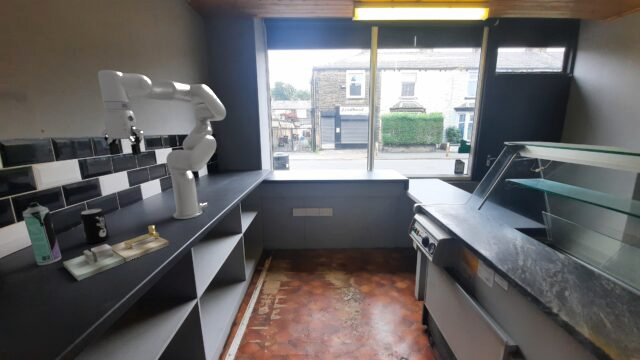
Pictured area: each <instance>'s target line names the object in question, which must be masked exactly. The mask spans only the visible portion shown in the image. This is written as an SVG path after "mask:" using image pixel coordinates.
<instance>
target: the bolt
mask: <svg viewBox="0 0 640 360" xmlns="http://www.w3.org/2000/svg"><path fill="white" fill-rule="evenodd" d="M155 227H156V225H154V224H152V225H148V226H147V229H148V233H147V235H146V234H143V235H144V236H143V235H140V236H141V237H140V236H137V237H138V238H137V237H134V238H135V239H134V238H131V239H132V240H131V239H128V240H129V241H128V240H125V241H126V242H125V241H123V242H124V244H125V247H126V248H131V247H132V246H131V244H134V243H137V242H139V241H142V240H145V239H148V238H151V237H154V238H155V239H156V238H159V237H160V234H159V232H157V231H156V228H155Z"/></svg>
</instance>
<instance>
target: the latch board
mask: <svg viewBox="0 0 640 360" xmlns="http://www.w3.org/2000/svg"><path fill="white" fill-rule="evenodd" d="M147 234H148V233H147ZM147 234H143V235H139V236H137V237H134V238H131V239H128V240H125V241H123V242H122V241H121V242H119V243H116V244H113V245H109V244H107V243H105V244H102V245H98V246H95V247H92V248H90V250H91V251H89V250H88V249H86V250H83V255H80V256H76V257H74V258H72V259H71V258H70V259H69V260H68V259H67V260H66V261H63V262H62V264H63V267H64V268H65V269H66V270H67V271H68V272H69V273H70V274H71V275H72V276H73V277H74V278H75V279H76V280H77V281H78V282H79V281H81V280H85V279H86V278H89V277H92V276H94V275H97V274H99V273H101V272H105V271H107V270H109V269H112V268H114V267H117V266H120V265H122V264H125V263H127V262H129V261H132V259H133V260H135V259H137V257H138V258H140V257H143V256H145V255H148V254H150V253H152V252H155V251H157V250H158V251H159V250H160V249H162V248H165V247H166V248H167V247H168V246H170V242H169V240H166V239H165V238H162V237H160V236H159V238H156V239H155V238H154V237H151V238H148V239H145V240H142V241H139V242H137V243H134V244H131V246H132V247H131V248H126V247H125V244H124V242H126V241H129V240H132V239H135V238H138V237H141V236H144V235H147ZM134 258H135V259H134Z"/></svg>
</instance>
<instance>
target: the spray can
mask: <svg viewBox="0 0 640 360" xmlns="http://www.w3.org/2000/svg"><path fill="white" fill-rule="evenodd" d="M22 217H23V219H24V223H25V228H26V231H27V233H28V237H29V240H30V243H31V247H32V250H33V253H34V257H35V261H36V264H37V265H38V266H45V265H50V264H53V263H55V262H58V261H60V260H61V259H62V254H61V250H60V247H59V243H58V239H57V236H56V232H55V228H54V223H53V220H52V216H51V213H50V209H49V208H48V207H46V206H42V204H39V203H38V201H33V202H30V203H29V206H28V207H27V209H26V210H24V211H22Z"/></svg>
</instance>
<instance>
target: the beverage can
mask: <svg viewBox="0 0 640 360" xmlns="http://www.w3.org/2000/svg"><path fill="white" fill-rule="evenodd" d="M80 214H81V215H80V221H81V227H82V230H83V233H84V238H85V242H86V243H88V244H90V245H93V244H99V243H102V242H105V241H107V240H108V238H109V237H110V236H109V231H108V226H107V222H106V217H105V212H104V211H102V208H91V209H87V210H83V211H81V213H80Z"/></svg>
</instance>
